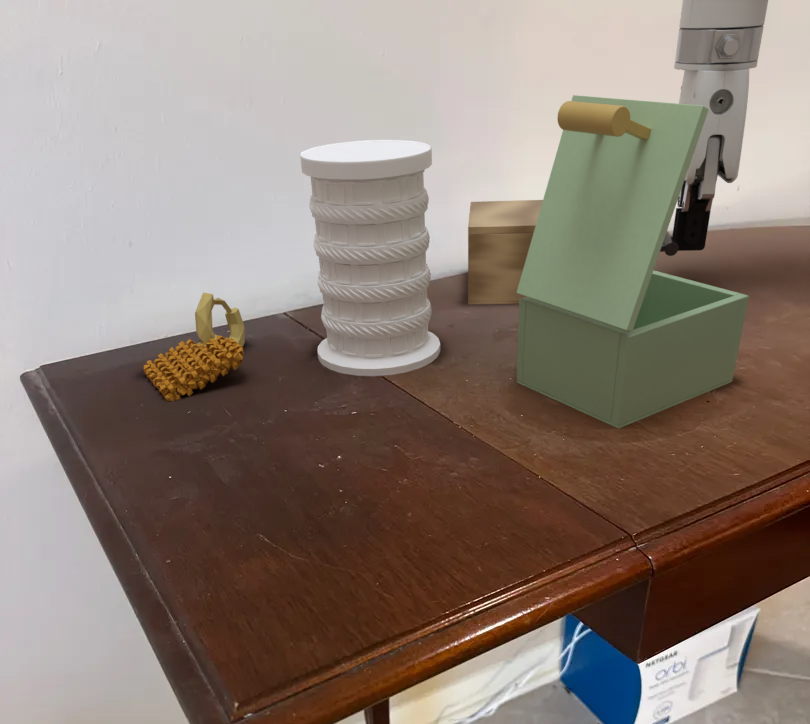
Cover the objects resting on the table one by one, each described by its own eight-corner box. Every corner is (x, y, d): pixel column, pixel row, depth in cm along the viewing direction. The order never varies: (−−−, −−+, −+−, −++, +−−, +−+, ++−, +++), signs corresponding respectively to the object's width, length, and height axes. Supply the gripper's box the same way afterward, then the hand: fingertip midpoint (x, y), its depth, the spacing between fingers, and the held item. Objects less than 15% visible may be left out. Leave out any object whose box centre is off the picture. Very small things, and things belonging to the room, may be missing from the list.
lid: (579, 97, 60) (533, 77, 57) (709, 108, 52) (664, 85, 49) (522, 294, 65) (477, 285, 62) (632, 331, 57) (587, 323, 54)
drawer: (659, 268, 94) (667, 205, 90) (676, 296, 85) (686, 228, 81) (515, 271, 95) (516, 209, 92) (517, 299, 87) (519, 233, 83)
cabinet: (586, 275, 96) (592, 198, 91) (596, 307, 86) (604, 223, 81) (470, 278, 97) (470, 201, 92) (468, 309, 87) (468, 226, 83)
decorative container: (300, 351, 79) (275, 149, 69) (405, 328, 83) (396, 134, 73) (348, 392, 71) (328, 168, 61) (463, 364, 75) (462, 150, 65)
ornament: (199, 357, 65) (265, 264, 75) (98, 374, 69) (172, 284, 79) (237, 424, 69) (294, 328, 79) (139, 436, 73) (205, 344, 83)
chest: (625, 350, 76) (635, 265, 72) (731, 388, 68) (749, 295, 64) (515, 388, 70) (519, 298, 65) (617, 435, 62) (628, 336, 57)
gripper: (781, 53, 71) (740, 268, 81) (738, 43, 83) (708, 230, 93) (692, 57, 71) (663, 269, 82) (663, 46, 84) (641, 232, 94)
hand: (687, 248), depth 87 cm, fingers closed
